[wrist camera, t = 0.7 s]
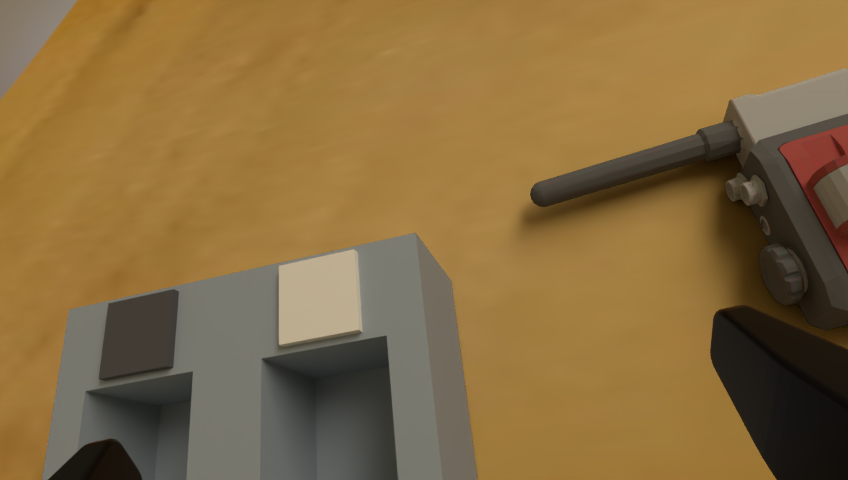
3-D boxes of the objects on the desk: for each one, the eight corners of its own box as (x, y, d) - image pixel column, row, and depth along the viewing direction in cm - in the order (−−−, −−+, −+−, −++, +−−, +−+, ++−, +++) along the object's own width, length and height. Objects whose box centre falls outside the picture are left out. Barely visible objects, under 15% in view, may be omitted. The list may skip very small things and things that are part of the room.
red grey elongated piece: (1056, 28, 22) (527, 189, 25) (1155, -73, 18) (513, 134, 21) (1245, 238, 18) (590, 394, 21) (1423, 167, 14) (587, 372, 17)
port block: (492, 590, 19) (455, 621, 15) (131, 620, 22) (5, 654, 18) (451, 280, 24) (413, 229, 19) (157, 339, 27) (62, 307, 22)
